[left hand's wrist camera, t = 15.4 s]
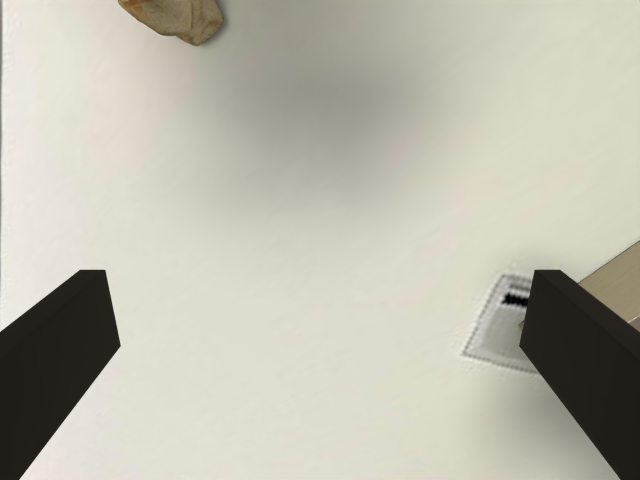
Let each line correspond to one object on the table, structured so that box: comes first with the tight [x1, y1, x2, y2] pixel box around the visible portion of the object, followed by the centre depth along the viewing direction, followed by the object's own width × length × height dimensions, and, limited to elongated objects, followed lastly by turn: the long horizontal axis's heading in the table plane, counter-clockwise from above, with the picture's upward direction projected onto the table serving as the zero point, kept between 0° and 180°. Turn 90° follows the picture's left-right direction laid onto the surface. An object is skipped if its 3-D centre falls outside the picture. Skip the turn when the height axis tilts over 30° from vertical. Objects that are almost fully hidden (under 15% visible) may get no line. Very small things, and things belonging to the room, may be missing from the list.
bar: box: [519, 241, 640, 332], centre depth 44 cm, size 23×5×8 cm, turn 133°
